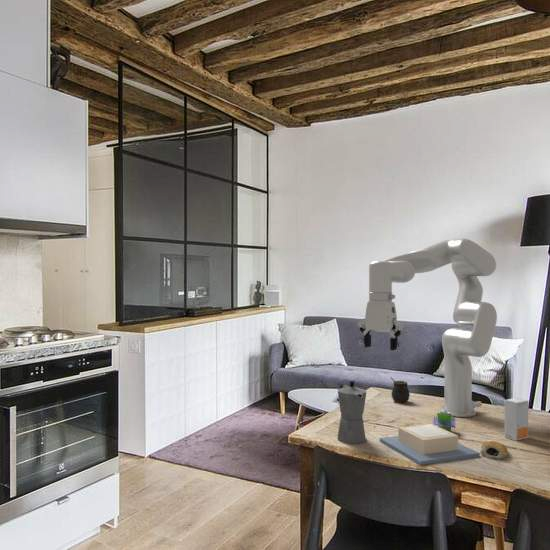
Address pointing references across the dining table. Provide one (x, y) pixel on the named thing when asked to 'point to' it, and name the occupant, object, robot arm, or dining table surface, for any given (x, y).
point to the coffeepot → (351, 414)
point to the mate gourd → (400, 391)
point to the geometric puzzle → (445, 421)
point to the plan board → (429, 457)
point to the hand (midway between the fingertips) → (380, 348)
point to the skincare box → (516, 419)
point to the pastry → (494, 450)
